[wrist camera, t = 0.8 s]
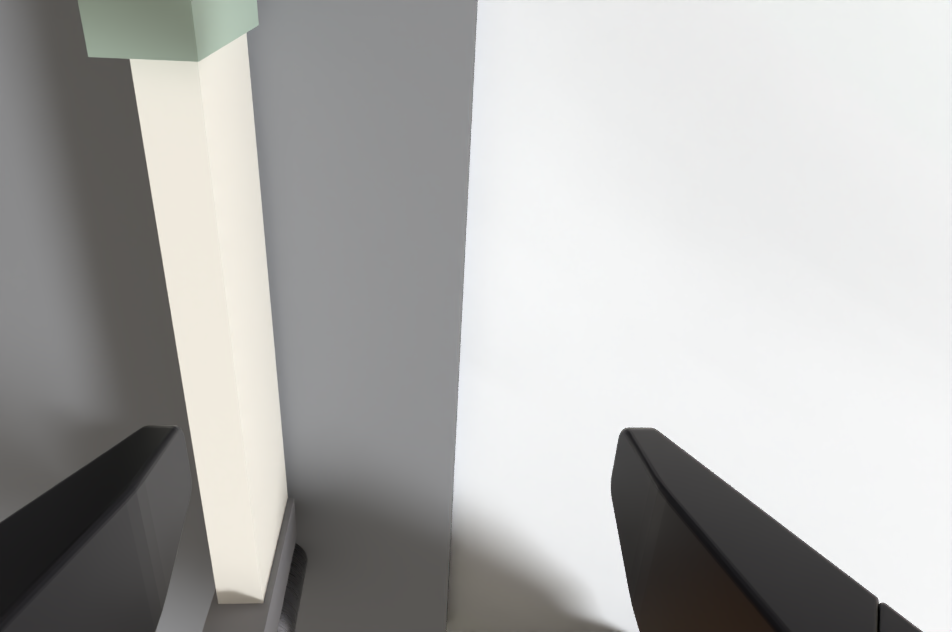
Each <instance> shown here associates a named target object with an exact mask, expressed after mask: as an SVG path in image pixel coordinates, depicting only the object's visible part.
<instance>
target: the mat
mask: <svg viewBox="0 0 952 632" xmlns="http://www.w3.org/2000/svg"><path fill="white" fill-rule="evenodd" d="M477 2H478V0H257V8H258V21H259V25H258V26H257V27H255V28H253V29H252V30H250V31H248V32H247V45H248V56H249V67H250V78H251V89H252V101H253V112H254V123H255V134H256V145H257V157H258V168H259V179H260V190H261V201H262V213H263V224H264V235H265V246H266V257H267V269H268V280H269V291H270V302H271V313H272V325H273V336H274V347H275V358H276V369H277V381H278V392H279V403H280V414H281V425H282V437H283V448H284V459H285V470H286V481H287V493H288V498H293V497H294V501H295V513H296V525H297V537H296V542H295V543H296V544H298V545H299V546H301V547H302V548H303V550H304V551H305V553H306V555H307V559H308V562H307V568H306V573H305V579H304V584H303V590H302V595H301V601H300V606H299V612H298V617H297V623H296V629H295V632H446V622H447V602H448V582H449V562H450V542H451V522H452V502H453V482H454V462H455V442H456V422H457V402H458V382H459V362H460V342H461V322H462V302H463V282H464V262H465V242H466V222H467V202H468V182H469V162H470V142H471V122H472V102H473V82H474V62H475V42H476V22H477ZM146 425H177V426H178V427H180V428H181V429H182V431H183V433H184V436H185V442H186V448H187V454H188V460H189V466H190V472H191V479H192V490H191V497H190V502H189V506H188V510H187V514H186V518H185V522H184V526H183V531H182V535H181V539H180V543H179V547H178V551H177V555H176V559H175V563H174V567H173V572H172V576H171V580H170V584H169V588H168V592H167V596H166V600H165V603H164V607H163V611H162V614H161V617H160V620H159V623H158V626H157V629H156V632H202V631H203V627H204V624H205V621H206V618H207V615H208V611H209V608H210V605H211V602H212V599H213V595H214V592H215V589H216V587H215V581H214V574H213V568H212V562H211V556H210V550H209V544H208V538H207V531H206V525H205V519H204V513H203V507H202V501H201V495H200V488H199V482H198V476H197V470H196V464H195V458H194V452H193V445H192V439H191V433H190V427H189V421H188V415H187V409H186V402H185V396H184V390H183V384H182V378H181V372H180V366H179V359H178V353H177V347H176V341H175V335H174V329H173V323H172V316H171V310H170V304H169V298H168V292H167V286H166V280H165V273H164V267H163V261H162V255H161V249H160V243H159V237H158V230H157V224H156V218H155V212H154V206H153V200H152V194H151V187H150V181H149V175H148V169H147V163H146V157H145V151H144V144H143V138H142V132H141V126H140V120H139V114H138V108H137V101H136V95H135V89H134V83H133V77H132V71H131V65H130V59H123V58H100V57H88V53H87V48H86V42H85V37H84V32H83V26H82V21H81V16H80V10H79V5H78V0H0V522H1V521H3V520H4V519H6V518H7V517H9V516H10V515H12V514H13V513H15V512H16V511H18V510H19V509H21V508H22V507H24V506H25V505H27V504H28V503H30V502H31V501H33V500H34V499H36V498H37V497H39V496H40V495H41V494H43V493H44V492H46V491H47V490H49V489H50V488H52V487H53V486H55V485H56V484H58V483H59V482H61V481H62V480H64V479H65V478H67V477H68V476H70V475H71V474H73V473H74V472H76V471H77V470H79V469H80V468H82V467H83V466H85V465H86V464H88V463H89V462H91V461H92V460H94V459H95V458H97V457H98V456H100V455H101V454H103V453H104V452H106V451H107V450H109V449H110V448H112V447H113V446H115V445H116V444H118V443H119V442H121V441H122V440H124V439H125V438H126V437H128V436H129V435H131V434H132V433H134V432H135V431H137V430H138V429H140V428H142V427H144V426H146Z"/></svg>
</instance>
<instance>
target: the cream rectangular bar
mask: <svg viewBox="0 0 952 632" xmlns="http://www.w3.org/2000/svg"><path fill="white" fill-rule="evenodd" d="M78 5H79V10H80V16H81V21H82V26H83V32H84V37H85V42H86V48H87V53H88V57H100V58H123V59H130V65H131V71H132V77H133V83H134V89H135V95H136V101H137V108H138V114H139V120H140V126H141V132H142V138H143V144H144V151H145V157H146V163H147V169H148V175H149V181H150V187H151V194H152V200H153V206H154V212H155V218H156V224H157V230H158V237H159V243H160V249H161V255H162V261H163V267H164V273H165V280H166V286H167V292H168V298H169V304H170V310H171V316H172V323H173V329H174V335H175V341H176V347H177V353H178V359H179V366H180V372H181V378H182V384H183V390H184V396H185V402H186V409H187V415H188V421H189V427H190V433H191V439H192V445H193V452H194V458H195V464H196V470H197V476H198V482H199V488H200V495H201V501H202V507H203V513H204V519H205V525H206V531H207V538H208V544H209V550H210V556H211V562H212V568H213V574H214V581H215V587H216V589H215V592H214V595H213V599H212V602H211V605H210V608H209V611H208V615H207V618H206V621H205V624H204V627H203V631H202V632H277V630H278V625H279V620H280V615H281V610H282V606H283V601H284V596H285V591H286V586H287V581H288V576H289V571H290V567H291V562H292V557H293V552H294V547H295V542H296V537H297V525H296V513H295V501H294V497H293V498H288V493H287V481H286V470H285V459H284V448H283V437H282V425H281V414H280V403H279V392H278V381H277V369H276V358H275V347H274V336H273V325H272V313H271V302H270V291H269V280H268V269H267V257H266V246H265V235H264V224H263V213H262V201H261V190H260V179H259V168H258V157H257V145H256V134H255V123H254V112H253V101H252V89H251V78H250V67H249V56H248V45H247V32H248V31H250V30H252V29H253V28H255V27H257V26H258V25H259V21H258V8H257V0H78Z"/></svg>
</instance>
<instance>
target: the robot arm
mask: <svg viewBox="0 0 952 632" xmlns="http://www.w3.org/2000/svg"><path fill="white" fill-rule="evenodd" d="M191 490H192V479H191V472H190V466H189V460H188V454H187V448H186V442H185V436H184V433H183V431H182V429H181V428H180V427H178V426H177V425H146V426H144V427H142V428H140V429H138V430H137V431H135V432H134V433H132V434H131V435H129V436H128V437H126V438H125V439H124V440H122V441H121V442H119V443H118V444H116V445H115V446H113V447H112V448H110V449H109V450H107V451H106V452H104V453H103V454H101V455H100V456H98V457H97V458H95V459H94V460H92V461H91V462H89V463H88V464H86V465H85V466H83V467H82V468H80V469H79V470H77V471H76V472H74V473H73V474H71V475H70V476H68V477H67V478H65V479H64V480H62V481H61V482H59V483H58V484H56V485H55V486H53V487H52V488H50V489H49V490H47V491H46V492H44V493H43V494H41V495H40V496H39V497H37V498H36V499H34V500H33V501H31V502H30V503H28V504H27V505H25V506H24V507H22V508H21V509H19V510H18V511H16V512H15V513H13V514H12V515H10V516H9V517H7V518H6V519H4V520H3V521H1V522H0V632H156V629H157V626H158V623H159V620H160V617H161V614H162V611H163V607H164V603H165V600H166V596H167V592H168V588H169V584H170V580H171V576H172V572H173V567H174V563H175V559H176V555H177V551H178V547H179V543H180V539H181V535H182V531H183V526H184V522H185V518H186V514H187V510H188V506H189V502H190V497H191ZM611 496H612V502H613V507H614V513H615V518H616V523H617V529H618V534H619V540H620V545H621V550H622V556H623V561H624V567H625V572H626V577H627V583H628V588H629V593H630V598H631V603H632V607H633V610H634V614H635V618H636V621H637V625H638V628H639V631H640V632H923V631H921V630H920V629H919V628H917V627H916V626H914V625H913V624H912V623H911V622H909V621H908V620H907V619H905V618H904V617H903V616H901V615H900V614H899V613H897V612H896V611H895V610H893V609H892V608H891V607H889V606H888V605H887V604H885V603H880V604H879V601H878V598H877V597H876V596H875V595H873V594H872V593H871V592H869V591H868V590H867V589H865V588H864V587H863V586H862V585H860V584H859V583H858V582H856V581H855V580H854V579H852V578H851V577H850V576H848V575H847V574H846V573H844V572H843V571H842V570H841V569H839V568H838V567H837V566H835V565H834V564H833V563H831V562H830V561H829V560H827V559H826V558H825V557H823V556H822V555H821V554H819V553H818V552H817V551H816V550H814V549H813V548H812V547H810V546H809V545H808V544H806V543H805V542H804V541H802V540H801V539H800V538H798V537H797V536H796V535H794V534H793V533H792V532H791V531H789V530H788V529H787V528H785V527H784V526H783V525H781V524H780V523H779V522H777V521H776V520H775V519H773V518H772V517H771V516H770V515H768V514H767V513H766V512H764V511H763V510H762V509H760V508H759V507H758V506H756V505H755V504H754V503H752V502H751V501H750V500H749V499H747V498H746V497H745V496H743V495H742V494H741V493H739V492H738V491H737V490H735V489H734V488H733V487H731V486H730V485H729V484H727V483H726V482H725V481H724V480H722V479H721V478H720V477H718V476H717V475H716V474H714V473H713V472H712V471H710V470H709V469H708V468H706V467H705V466H704V465H702V464H701V463H700V462H699V461H697V460H696V459H695V458H693V457H692V456H691V455H689V454H688V453H687V452H685V451H684V450H683V449H681V448H680V447H679V446H678V445H676V444H675V443H674V442H672V441H671V440H670V439H668V438H667V437H666V436H664V435H663V434H662V433H660V432H659V431H658V430H656V429H654V428H625V429H623V430H622V431H621V433H620V435H619V439H618V444H617V449H616V455H615V460H614V466H613V471H612V477H611Z"/></svg>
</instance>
